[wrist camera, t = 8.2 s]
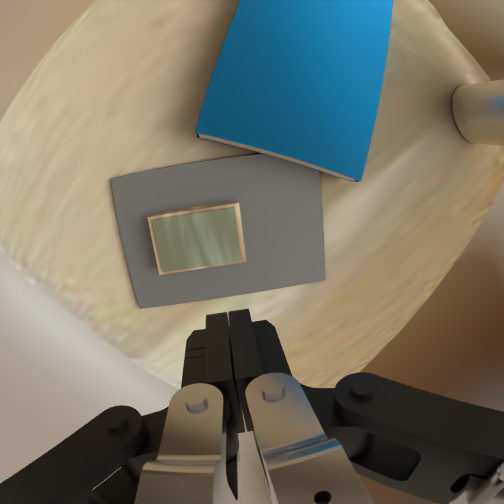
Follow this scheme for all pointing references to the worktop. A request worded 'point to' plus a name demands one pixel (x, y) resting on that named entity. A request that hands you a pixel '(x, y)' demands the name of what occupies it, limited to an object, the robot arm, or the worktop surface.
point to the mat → (252, 218)
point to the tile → (197, 237)
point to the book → (301, 81)
